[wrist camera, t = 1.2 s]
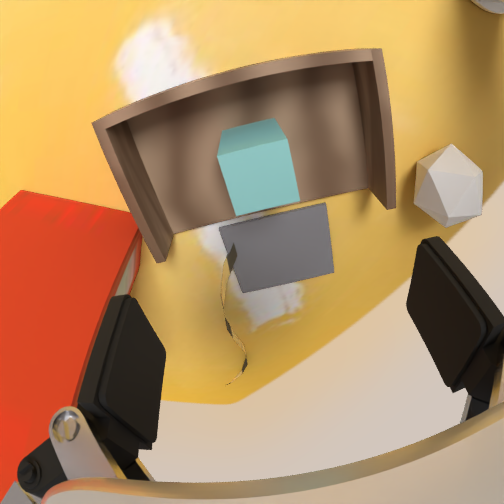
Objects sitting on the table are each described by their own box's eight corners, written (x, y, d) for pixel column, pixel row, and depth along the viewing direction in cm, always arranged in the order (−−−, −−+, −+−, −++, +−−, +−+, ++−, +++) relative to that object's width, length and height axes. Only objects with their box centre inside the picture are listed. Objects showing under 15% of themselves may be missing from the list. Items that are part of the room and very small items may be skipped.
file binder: (139, 268, 37) (77, 537, 11) (28, 241, 33) (-80, 448, 7) (144, 214, 32) (46, 539, 6) (22, 189, 29) (-130, 407, 3)
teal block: (274, 117, 26) (287, 138, 20) (285, 165, 29) (300, 200, 23) (222, 130, 27) (217, 156, 20) (236, 177, 30) (236, 216, 23)
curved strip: (278, 240, 36) (283, 260, 33) (234, 394, 58) (235, 410, 55) (226, 235, 35) (227, 255, 32) (205, 393, 57) (205, 409, 54)
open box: (356, 48, 23) (381, 48, 18) (374, 184, 31) (395, 207, 27) (115, 110, 25) (91, 123, 21) (166, 233, 34) (156, 263, 29)
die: (393, 202, 33) (452, 254, 29) (399, 158, 26) (476, 221, 21) (429, 163, 33) (485, 210, 29) (439, 118, 26) (508, 170, 21)
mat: (325, 202, 32) (325, 204, 32) (333, 270, 38) (334, 272, 38) (219, 227, 34) (218, 229, 33) (242, 291, 40) (242, 293, 39)
